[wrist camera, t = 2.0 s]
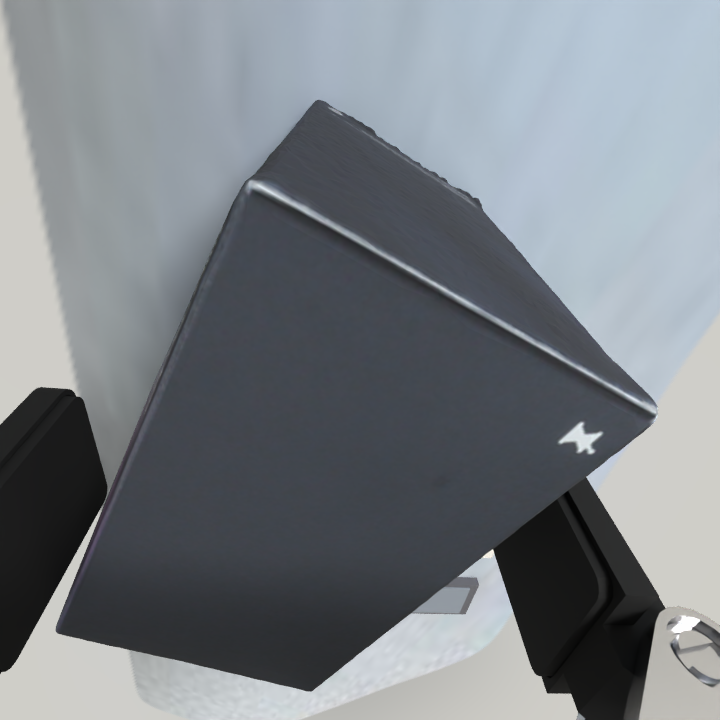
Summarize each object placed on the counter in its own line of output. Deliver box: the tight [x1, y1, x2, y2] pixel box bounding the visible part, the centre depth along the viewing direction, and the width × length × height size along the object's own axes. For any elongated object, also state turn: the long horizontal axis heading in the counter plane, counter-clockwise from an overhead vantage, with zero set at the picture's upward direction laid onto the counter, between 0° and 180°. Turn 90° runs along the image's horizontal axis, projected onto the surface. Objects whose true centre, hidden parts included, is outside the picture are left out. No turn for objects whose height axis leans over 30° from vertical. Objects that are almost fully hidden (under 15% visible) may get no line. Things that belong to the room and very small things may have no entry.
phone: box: [412, 577, 479, 614], centre depth 28 cm, size 4×7×1 cm, turn 85°
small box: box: [56, 100, 658, 691], centre depth 12 cm, size 11×6×10 cm, turn 150°
